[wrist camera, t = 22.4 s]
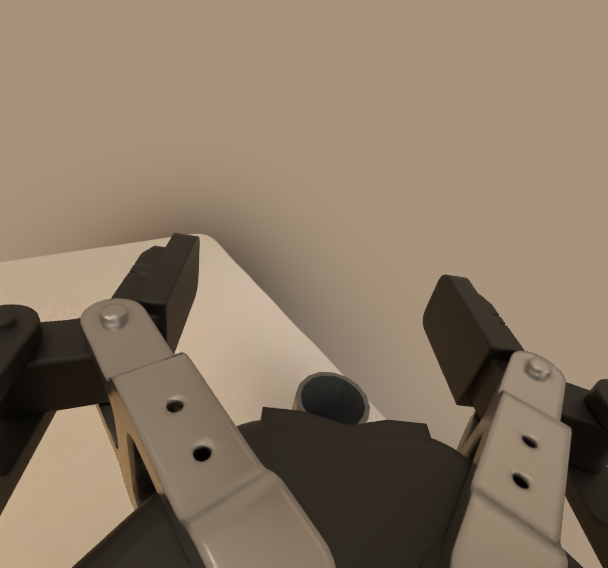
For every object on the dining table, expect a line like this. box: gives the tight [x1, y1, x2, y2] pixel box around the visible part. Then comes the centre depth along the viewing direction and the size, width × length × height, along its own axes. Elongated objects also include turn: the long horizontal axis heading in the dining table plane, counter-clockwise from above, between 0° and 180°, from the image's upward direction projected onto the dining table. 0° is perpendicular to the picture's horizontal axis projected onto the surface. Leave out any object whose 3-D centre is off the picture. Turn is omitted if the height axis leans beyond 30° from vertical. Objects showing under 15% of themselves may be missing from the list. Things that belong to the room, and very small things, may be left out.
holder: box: [292, 372, 370, 425], centre depth 41 cm, size 7×7×9 cm
